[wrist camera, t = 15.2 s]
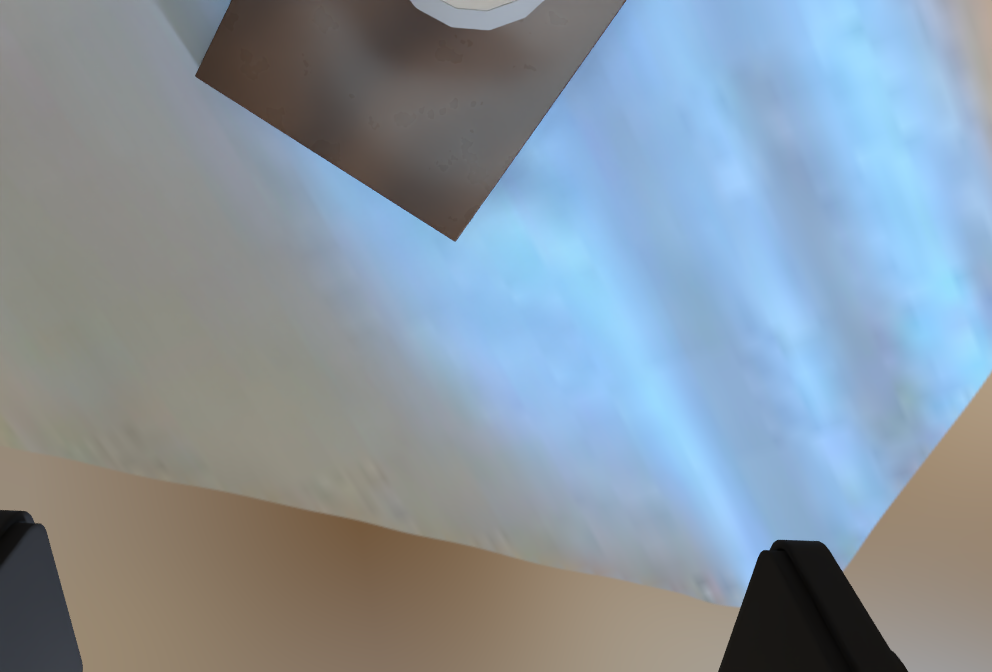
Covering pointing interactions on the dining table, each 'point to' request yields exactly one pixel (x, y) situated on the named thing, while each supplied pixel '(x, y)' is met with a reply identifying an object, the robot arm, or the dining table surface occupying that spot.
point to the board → (403, 89)
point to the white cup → (477, 12)
